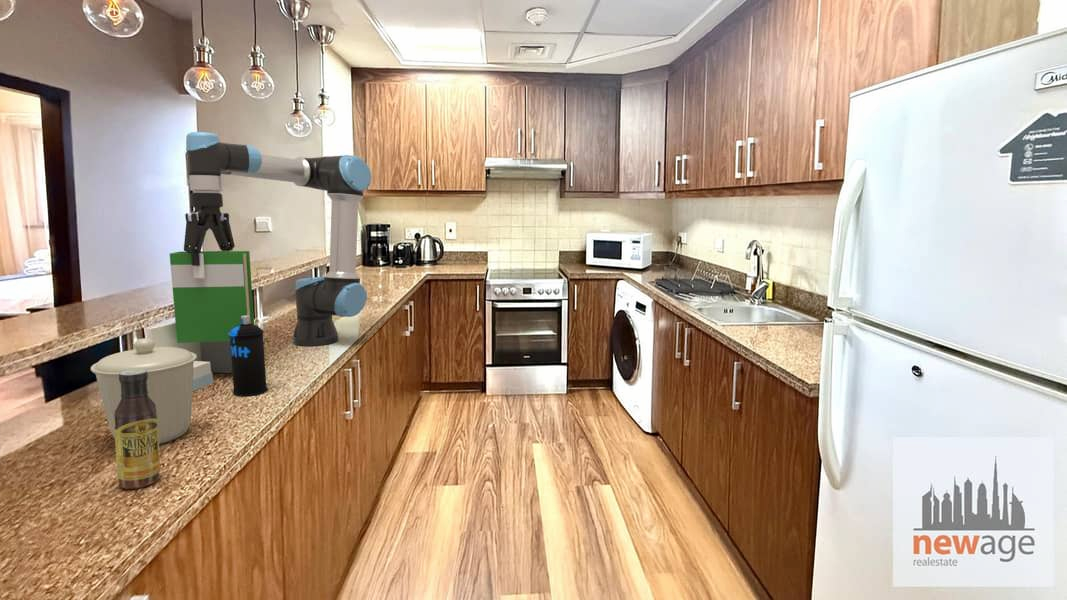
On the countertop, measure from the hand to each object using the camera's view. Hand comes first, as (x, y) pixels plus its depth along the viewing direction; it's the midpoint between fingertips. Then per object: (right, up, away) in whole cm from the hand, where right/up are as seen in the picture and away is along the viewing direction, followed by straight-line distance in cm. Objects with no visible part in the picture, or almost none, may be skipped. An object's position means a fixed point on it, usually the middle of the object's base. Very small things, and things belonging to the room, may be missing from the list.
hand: (212, 275), depth 161 cm
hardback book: (0, -18, +3) cm, 18 cm away
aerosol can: (+14, -31, -8) cm, 35 cm away
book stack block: (-6, -30, -3) cm, 30 cm away
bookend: (-3, -27, +11) cm, 30 cm away
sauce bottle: (+19, -39, -58) cm, 72 cm away
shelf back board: (-11, -28, +4) cm, 31 cm away
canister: (+9, -35, -38) cm, 53 cm away
